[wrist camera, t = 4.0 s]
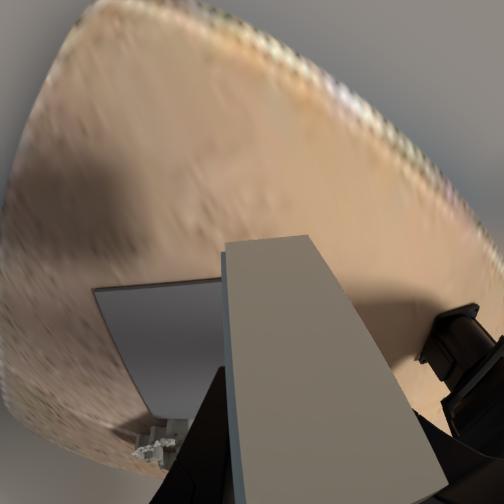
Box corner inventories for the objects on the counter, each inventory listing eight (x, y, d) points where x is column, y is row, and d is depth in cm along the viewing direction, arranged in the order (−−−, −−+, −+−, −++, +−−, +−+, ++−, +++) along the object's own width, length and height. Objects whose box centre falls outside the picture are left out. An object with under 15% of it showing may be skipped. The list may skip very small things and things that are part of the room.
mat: (299, 270, 19) (300, 273, 19) (292, 406, 26) (292, 409, 26) (95, 289, 18) (94, 292, 18) (155, 415, 26) (155, 419, 25)
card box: (307, 234, 9) (448, 484, 2) (301, 363, 12) (352, 537, 5) (220, 243, 9) (238, 545, 2) (237, 371, 12) (259, 555, 5)
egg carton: (174, 454, 31) (173, 480, 27) (126, 433, 28) (122, 461, 24) (232, 432, 28) (235, 462, 25) (181, 407, 25) (179, 442, 22)
